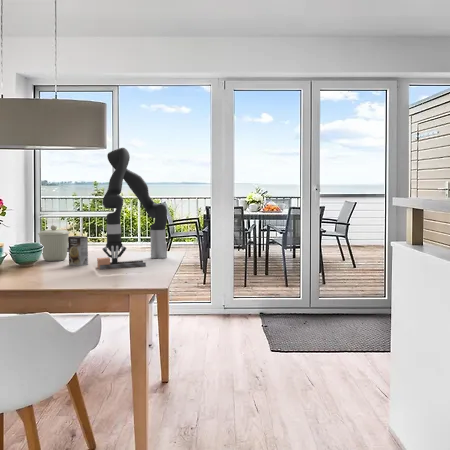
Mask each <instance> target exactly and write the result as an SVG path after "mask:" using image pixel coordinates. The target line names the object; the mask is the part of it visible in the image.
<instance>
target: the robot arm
mask: <svg viewBox="0 0 450 450" xmlns="http://www.w3.org/2000/svg"><path fill="white" fill-rule="evenodd" d="M107 160H108V163H109V164H110V165H111V167H112V168H113V169H114V171H113V172H112V175H111V176H110V178H109V182H108V188H107V191H106V192H105V194H104V196H103V198H102V206H103V207H104V208H105V209H115V211H114V212H108V213H107V214H106V245H105V246H104V247H102V251H103V252H104V253H105V254H106V255H107V257H109V258H110V259H111V262H112V264H118V262H119V259H118V258H121V257H122V255H123V254H124V253H125V251H126V250H127V247H126V246H124V245H123V242H122V227H121V215H122V208H123V206H124V198H123V197H122V195H120V194H121V193H122V190H123V189H122V188H123V181H125V183H126V184H127V186H128V187H129V189H130V190H131V191H132V192H133V194H134V195H135V197H136V198H137V199H138V201H139V202H140V204H141V205H142V207H143V208H144V210H145V212H146V214H147V215H148V216H149V218H151V219H154V223H152V224H150V226H149V228H150V229H149V230H150V231H149V232H150V258H151V259H165V258H167V257H168V249H167V248H168V247H167V240H166V237H167V235H166V227H167V225H168V224H167V223H168V220H167V217H168V209H167V206H166V205H165V204H164V203H159V202H158V203H156V202H155V201H153V199H152V198H151V196H150V194H149V186H148V184H147V183H146V181H145V180H144V179H143V177H142V176H141V175H139V174H138V173H136V172H134V171H131V170H130V169H128V165H129V163H130V152H129V151H128V149H126V148H125V147H119V148H116V149H114V150H111V151H109V152H108V153H107ZM108 250H109V252H110V253H109V252H108Z"/></svg>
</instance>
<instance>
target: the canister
mask: <svg viewBox="0 0 450 450" xmlns="http://www.w3.org/2000/svg"><path fill="white" fill-rule="evenodd" d="M37 235H38V237H39V242H40V245H41V244H42V245H43V246H44V248H43V253H42V252H41V254H42V258H43V260H44V261H46V262H58V261H59V262H61V261H64V260H66V258H67V255H68V250H69V248H68V237H70V236H69V235H70V231H68V230H65V229H58V226H57V225H55V224H54V225H50V229H45V230H41V231H39V233H37Z"/></svg>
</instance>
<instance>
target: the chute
mask: <svg viewBox="0 0 450 450" xmlns="http://www.w3.org/2000/svg"><path fill="white" fill-rule="evenodd" d="M143 267H144V268H145V267H147V262H145V261H144V260H129V261H128V260H127V261H118V264H112V261H110V265H100V269H99V270H115V269H129V268H143Z"/></svg>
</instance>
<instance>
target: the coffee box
mask: <svg viewBox="0 0 450 450" xmlns="http://www.w3.org/2000/svg"><path fill="white" fill-rule="evenodd" d="M88 241H89V239H88V236H83V235H82V236H81V235H75V236H74V235H73V236H71V235H70V236H69V237H68V265H69V266H75V267H76V266H77V267H82V266H84V267H85V266H88V265H89V251H88V250H89V249H88V246H89V244H88V243H89V242H88Z"/></svg>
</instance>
